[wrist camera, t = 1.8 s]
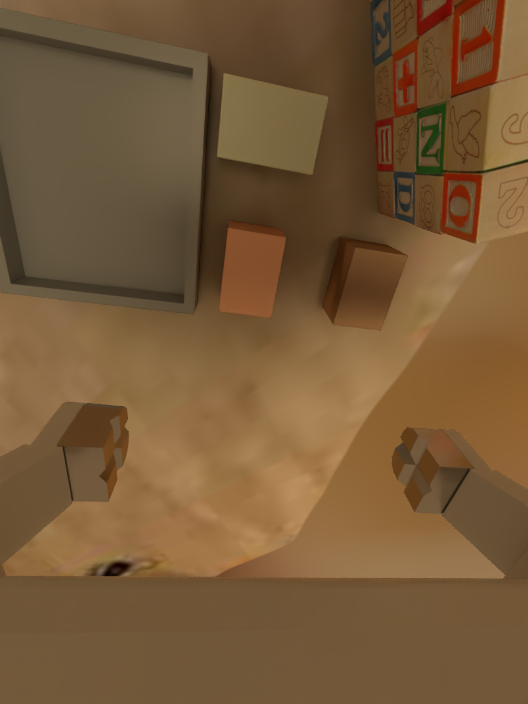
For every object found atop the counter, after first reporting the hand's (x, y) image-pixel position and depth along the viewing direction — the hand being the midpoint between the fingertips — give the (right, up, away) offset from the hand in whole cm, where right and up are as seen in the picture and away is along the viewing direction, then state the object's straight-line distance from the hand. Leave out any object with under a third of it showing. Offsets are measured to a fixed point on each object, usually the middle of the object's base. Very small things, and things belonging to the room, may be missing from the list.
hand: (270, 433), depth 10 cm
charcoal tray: (-12, +14, +14) cm, 23 cm away
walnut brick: (+7, +9, +19) cm, 22 cm away
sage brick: (0, +18, +13) cm, 22 cm away
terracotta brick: (-1, +10, +18) cm, 20 cm away
